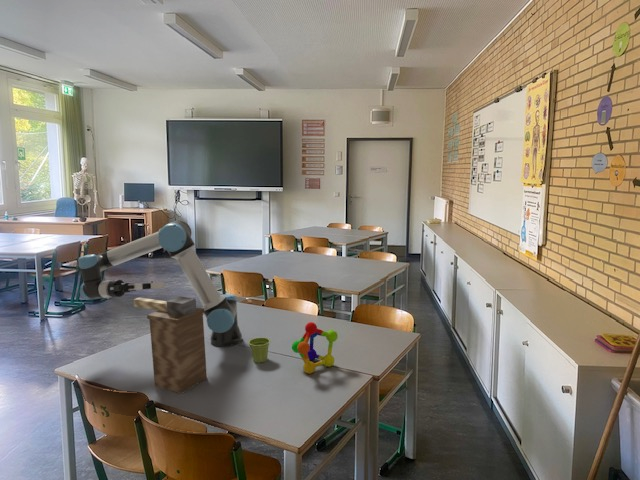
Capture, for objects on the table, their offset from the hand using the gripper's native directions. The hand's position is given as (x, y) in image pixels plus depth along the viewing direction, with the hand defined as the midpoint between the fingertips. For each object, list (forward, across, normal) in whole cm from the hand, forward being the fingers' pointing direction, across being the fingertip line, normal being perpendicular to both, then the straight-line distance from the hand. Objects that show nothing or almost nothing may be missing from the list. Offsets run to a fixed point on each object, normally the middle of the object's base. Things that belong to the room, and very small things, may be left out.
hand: (153, 285), depth 192 cm
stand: (+13, +2, -39) cm, 41 cm away
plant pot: (+34, -25, -36) cm, 56 cm away
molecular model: (+58, -26, -39) cm, 75 cm away
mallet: (+10, +8, -10) cm, 16 cm away
